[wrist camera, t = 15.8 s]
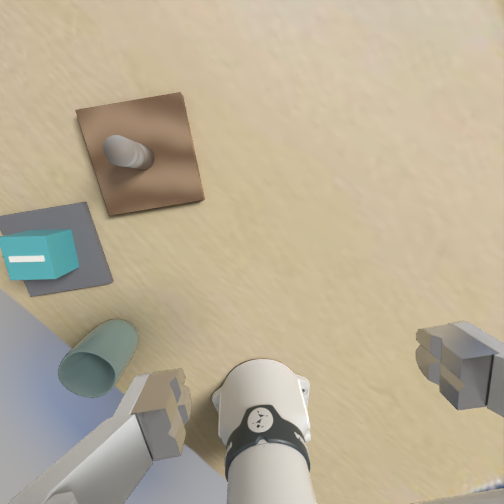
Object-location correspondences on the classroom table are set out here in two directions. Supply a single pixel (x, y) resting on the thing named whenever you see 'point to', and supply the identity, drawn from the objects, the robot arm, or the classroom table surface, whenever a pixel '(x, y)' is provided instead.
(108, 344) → the cup
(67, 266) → the teal cube
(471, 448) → the classroom table surface
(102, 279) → the mat
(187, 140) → the post base
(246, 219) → the classroom table surface
